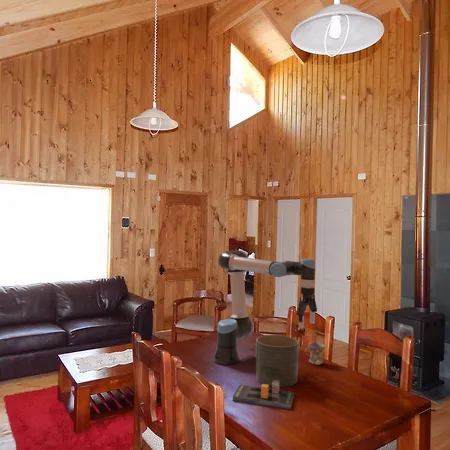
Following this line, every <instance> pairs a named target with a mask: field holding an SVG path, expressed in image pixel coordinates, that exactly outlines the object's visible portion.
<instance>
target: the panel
mask: <svg viewBox="0 0 450 450" xmlns="http://www.w3.org/2000/svg"><path fill="white" fill-rule="evenodd" d="M271 387H272V388H269V396H268V399H267V398H261V386H260V387H259V386H258V387H257V386H253V385H252V386H251V385H245V384H244V385H243V384H239V385H238V387H237V389H236V391H235V392H234V394H233V395H232V401H233V402H239V403H246V404H252V405H259V406H267V407H272V408H279V409H280V408H281V409H289V410H291V408H292V404H293V401H294V397H295V396H294V394H295V393H294V391H289V390H282V389H280V388H281V387H280V381H279V380H273V382H272V386H271Z"/></svg>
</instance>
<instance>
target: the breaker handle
mask: <svg viewBox="0 0 450 450" xmlns="http://www.w3.org/2000/svg"><path fill="white" fill-rule="evenodd" d="M260 387H261V398H267V399H268V396H269V389H270V386H269V385H266V384H262V383H261V385H260Z"/></svg>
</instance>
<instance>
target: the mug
mask: <svg viewBox="0 0 450 450" xmlns="http://www.w3.org/2000/svg"><path fill="white" fill-rule="evenodd" d="M324 348H325V344H323V343H318V342H310V343H308V347H306V348H305V349H304V351H305V352H304V353H305V354H306V355H307V356H308V357H309V359H308V362H309V363H310V364H312V365H318V366H319V365H323V364H324V360H323V353H324ZM307 350H309V351H310V355H309V354H308V353H307Z"/></svg>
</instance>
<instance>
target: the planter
mask: <svg viewBox="0 0 450 450" xmlns="http://www.w3.org/2000/svg"><path fill="white" fill-rule="evenodd" d="M299 344H300V342H299V340H298V339H296V338H294V337H292V336H288V335H287V336H286V335H280V334H279V335H278V334H267V335H266V334H264V335H261V336H259V337H256V339H255V379H256V380H257V381H258V382H259V383H261V385H262V384H266V385H269V387H272V382H273V380H279V381H280V388H287V387H291V386H294V385H295V384H296V383H298V382H297V381H298V370H299V352H300V351H299V349H300V348H299V347H300V345H299Z"/></svg>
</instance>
